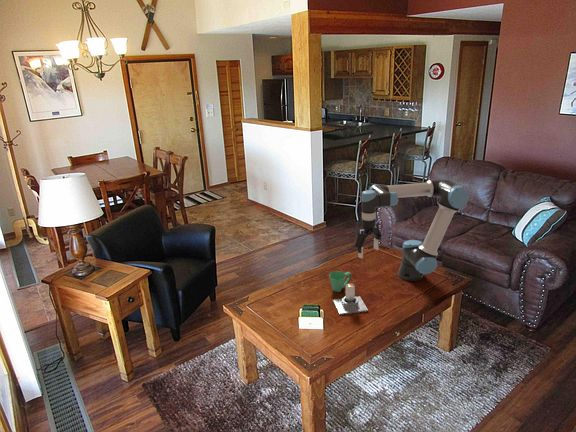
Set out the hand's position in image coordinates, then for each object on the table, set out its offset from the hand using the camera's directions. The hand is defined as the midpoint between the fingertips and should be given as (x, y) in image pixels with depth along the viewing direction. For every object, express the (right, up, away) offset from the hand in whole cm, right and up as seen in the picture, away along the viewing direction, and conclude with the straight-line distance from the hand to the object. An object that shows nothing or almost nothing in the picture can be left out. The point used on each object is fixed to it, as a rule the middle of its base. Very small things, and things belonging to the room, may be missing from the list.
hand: (368, 253), depth 227 cm
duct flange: (-11, -29, -3) cm, 31 cm away
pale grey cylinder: (-11, -28, -3) cm, 30 cm away
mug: (-14, -23, +15) cm, 30 cm away
